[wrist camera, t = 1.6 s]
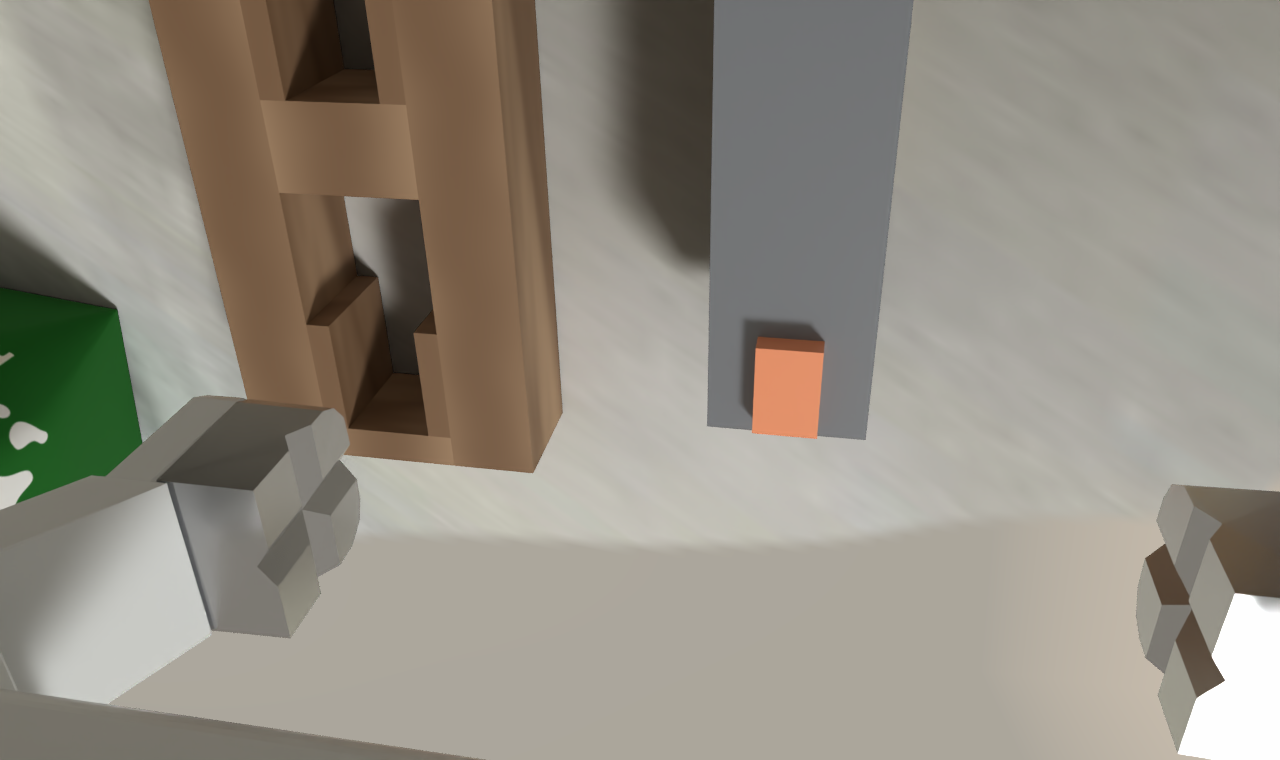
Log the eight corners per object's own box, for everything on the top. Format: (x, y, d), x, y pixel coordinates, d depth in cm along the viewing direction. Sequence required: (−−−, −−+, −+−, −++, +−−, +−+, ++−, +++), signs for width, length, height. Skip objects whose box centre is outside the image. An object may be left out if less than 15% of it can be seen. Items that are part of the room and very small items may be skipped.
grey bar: (933, -311, 22) (952, -339, 17) (865, 344, 30) (865, 453, 25) (748, -304, 23) (715, -329, 18) (730, 334, 31) (704, 438, 26)
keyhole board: (509, -374, 23) (457, -397, 20) (562, 412, 34) (533, 473, 31) (153, -355, 25) (56, -374, 22) (310, 390, 35) (259, 446, 32)
